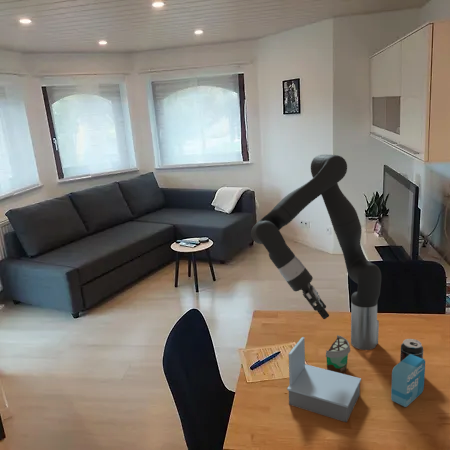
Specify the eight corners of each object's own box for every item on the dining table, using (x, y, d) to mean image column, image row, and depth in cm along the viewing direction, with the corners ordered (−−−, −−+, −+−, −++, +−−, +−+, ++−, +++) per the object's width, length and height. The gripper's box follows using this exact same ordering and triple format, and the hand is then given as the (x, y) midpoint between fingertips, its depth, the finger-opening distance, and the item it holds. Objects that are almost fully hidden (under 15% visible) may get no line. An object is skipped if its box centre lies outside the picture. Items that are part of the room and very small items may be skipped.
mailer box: (289, 404, 137) (288, 390, 136) (305, 380, 149) (305, 367, 148) (346, 422, 128) (346, 407, 127) (359, 395, 140) (359, 381, 138)
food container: (343, 382, 146) (343, 355, 144) (325, 377, 150) (325, 351, 147) (354, 363, 156) (354, 338, 154) (337, 359, 160) (337, 334, 157)
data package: (404, 409, 132) (406, 374, 129) (390, 402, 135) (391, 368, 132) (423, 391, 139) (425, 357, 136) (410, 385, 143) (411, 352, 140)
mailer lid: (287, 390, 136) (286, 356, 133) (304, 365, 148) (304, 334, 145) (347, 407, 126) (347, 372, 123) (361, 380, 138) (361, 347, 135)
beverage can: (417, 383, 143) (419, 350, 140) (396, 376, 148) (397, 344, 145) (424, 373, 148) (426, 341, 145) (404, 366, 153) (405, 335, 149)
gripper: (305, 271, 134) (337, 313, 135) (303, 261, 148) (332, 299, 149) (285, 285, 135) (317, 327, 136) (285, 274, 149) (314, 312, 150)
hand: (325, 313), depth 142 cm, fingers open, 8 cm apart
